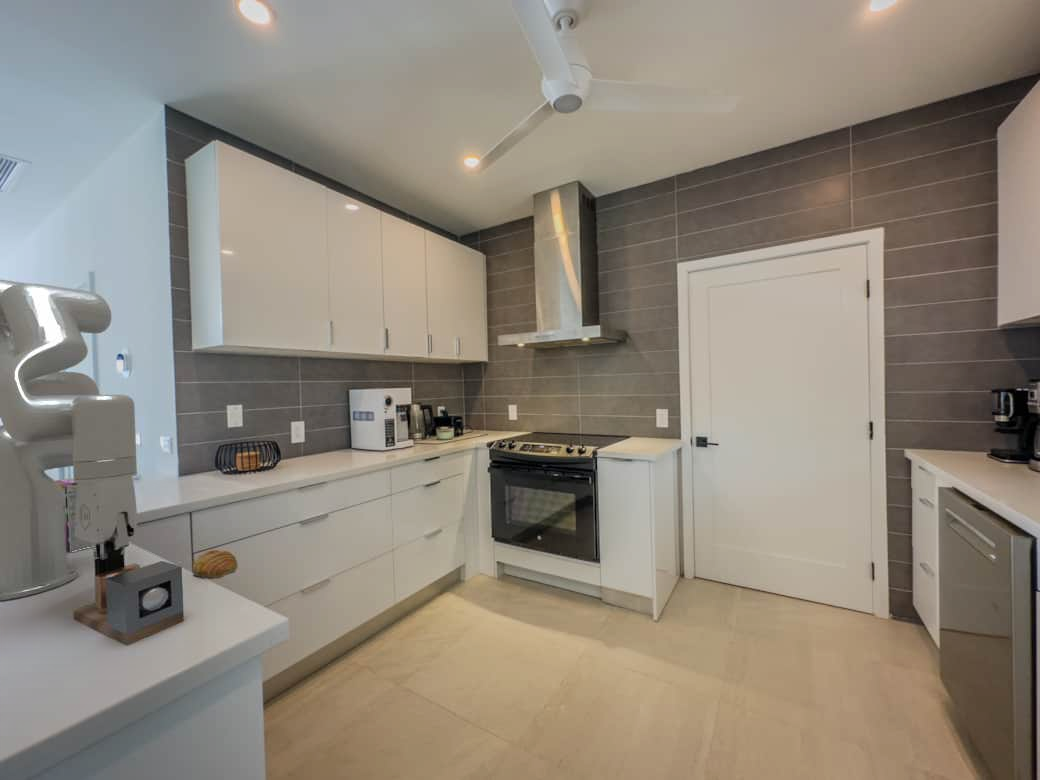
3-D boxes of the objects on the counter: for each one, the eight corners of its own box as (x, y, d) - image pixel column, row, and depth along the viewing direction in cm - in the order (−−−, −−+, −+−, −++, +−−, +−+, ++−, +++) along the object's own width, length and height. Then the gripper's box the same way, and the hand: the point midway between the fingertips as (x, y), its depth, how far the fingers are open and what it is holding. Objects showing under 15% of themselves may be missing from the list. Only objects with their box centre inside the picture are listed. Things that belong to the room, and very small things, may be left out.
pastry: (247, 571, 86) (246, 552, 86) (208, 585, 80) (207, 565, 80) (226, 562, 91) (225, 545, 91) (188, 575, 86) (187, 556, 86)
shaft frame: (73, 619, 69) (71, 566, 69) (128, 599, 75) (127, 551, 75) (127, 645, 61) (124, 585, 61) (183, 620, 67) (181, 566, 67)
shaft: (95, 607, 67) (94, 575, 67) (135, 593, 72) (134, 563, 72) (135, 624, 62) (134, 589, 62) (176, 607, 66) (175, 575, 66)
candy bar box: (56, 546, 106) (54, 480, 106) (84, 539, 110) (82, 476, 111) (66, 554, 100) (64, 484, 100) (96, 547, 104) (94, 480, 104)
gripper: (55, 471, 71) (59, 582, 71) (95, 476, 64) (100, 599, 64) (114, 463, 77) (118, 565, 77) (156, 467, 71) (160, 578, 71)
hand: (110, 580), depth 71 cm, fingers closed
